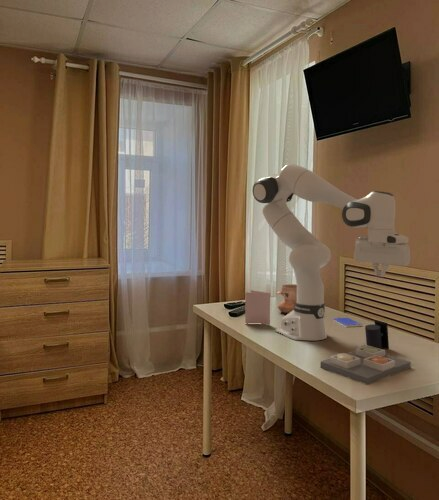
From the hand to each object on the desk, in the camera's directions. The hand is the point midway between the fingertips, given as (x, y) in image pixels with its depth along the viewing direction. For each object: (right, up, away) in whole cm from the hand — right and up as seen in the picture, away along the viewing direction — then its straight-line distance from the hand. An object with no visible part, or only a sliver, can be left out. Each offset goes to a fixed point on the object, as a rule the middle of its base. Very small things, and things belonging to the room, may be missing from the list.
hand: (380, 276), depth 150 cm
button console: (-8, -30, -8) cm, 32 cm away
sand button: (-15, -28, -10) cm, 33 cm away
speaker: (+3, -28, +12) cm, 31 cm away
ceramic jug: (-18, -24, +71) cm, 77 cm away
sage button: (-4, -27, -2) cm, 27 cm away
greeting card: (-40, -26, +48) cm, 67 cm away
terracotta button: (-5, -28, -13) cm, 31 cm away
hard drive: (+3, -26, +50) cm, 56 cm away
